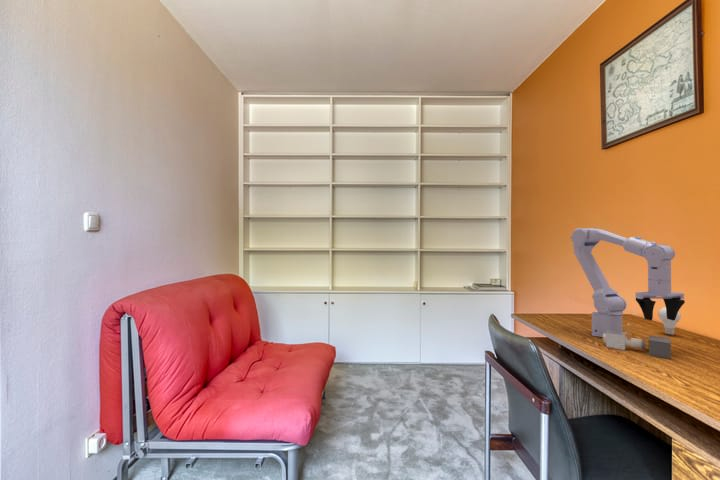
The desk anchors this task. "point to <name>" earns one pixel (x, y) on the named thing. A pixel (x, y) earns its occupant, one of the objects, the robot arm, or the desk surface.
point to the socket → (659, 347)
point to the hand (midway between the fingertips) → (659, 319)
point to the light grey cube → (615, 339)
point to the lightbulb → (668, 321)
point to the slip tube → (630, 339)
